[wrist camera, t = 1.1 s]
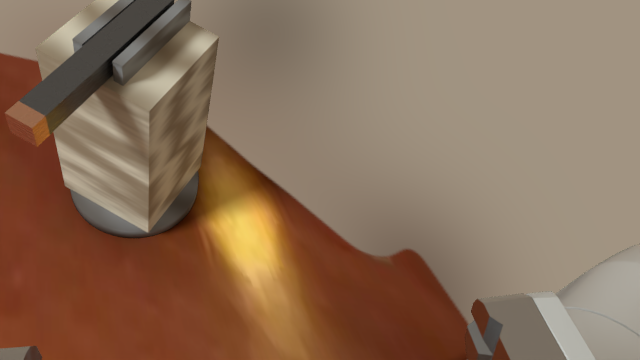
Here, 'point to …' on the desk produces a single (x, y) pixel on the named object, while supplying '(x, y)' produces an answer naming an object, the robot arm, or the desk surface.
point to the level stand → (136, 121)
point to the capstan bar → (80, 74)
